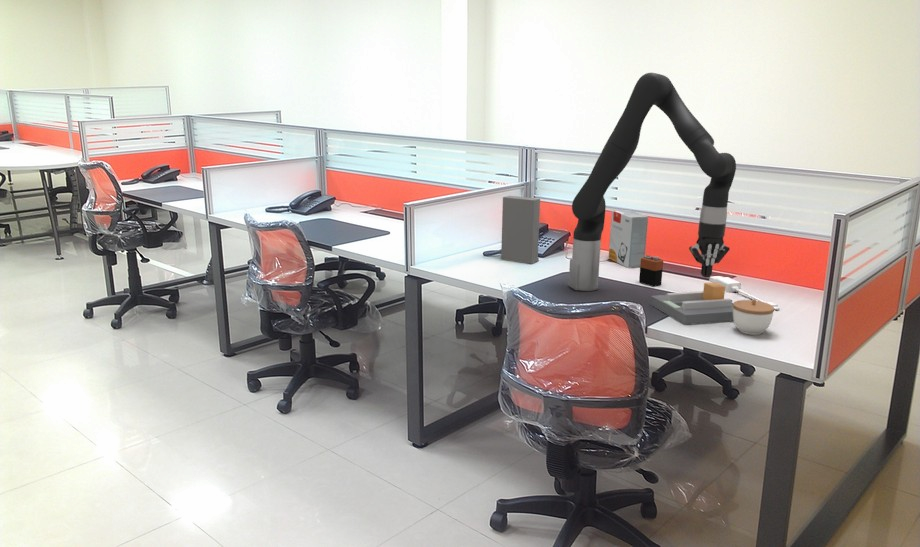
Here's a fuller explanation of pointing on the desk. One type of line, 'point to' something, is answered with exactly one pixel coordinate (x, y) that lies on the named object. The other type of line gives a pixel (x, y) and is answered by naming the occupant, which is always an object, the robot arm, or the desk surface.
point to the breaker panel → (693, 308)
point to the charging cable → (736, 288)
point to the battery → (651, 270)
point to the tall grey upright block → (520, 229)
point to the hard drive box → (627, 237)
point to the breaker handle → (713, 291)
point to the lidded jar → (752, 316)
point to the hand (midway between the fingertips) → (705, 276)
